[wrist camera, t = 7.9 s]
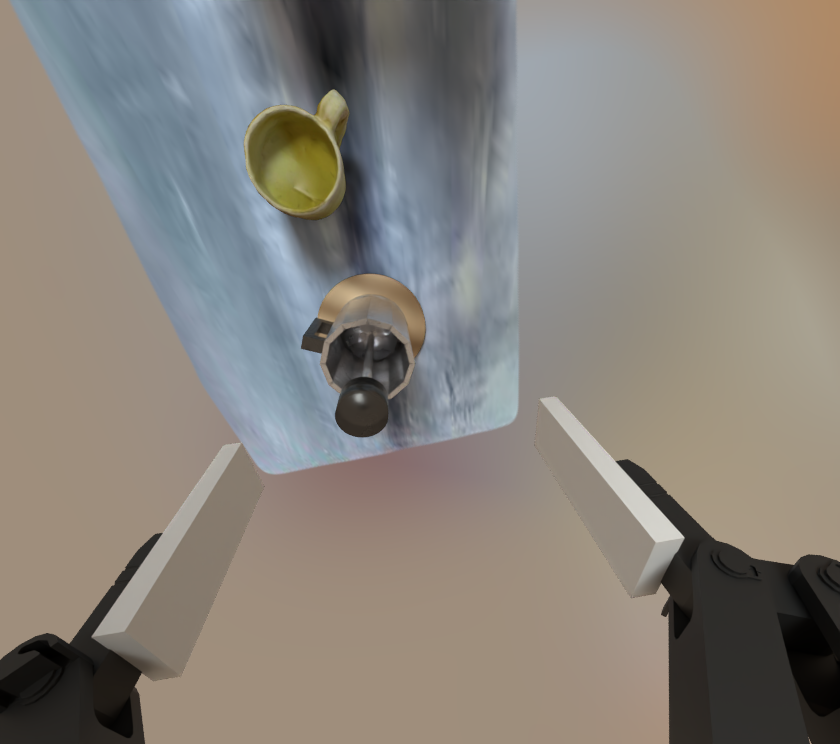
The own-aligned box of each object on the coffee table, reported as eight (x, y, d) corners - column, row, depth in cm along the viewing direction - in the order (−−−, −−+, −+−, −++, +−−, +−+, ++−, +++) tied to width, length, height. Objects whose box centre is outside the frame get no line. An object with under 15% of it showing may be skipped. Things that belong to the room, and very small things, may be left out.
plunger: (351, 304, 41) (326, 369, 23) (403, 318, 42) (415, 389, 25) (341, 351, 44) (311, 441, 26) (389, 363, 45) (391, 455, 28)
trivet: (328, 258, 41) (327, 258, 40) (439, 292, 44) (439, 293, 44) (310, 362, 47) (309, 363, 47) (407, 384, 51) (408, 386, 50)
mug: (313, 254, 39) (282, 223, 29) (258, 187, 37) (206, 130, 27) (387, 192, 38) (382, 141, 28) (334, 123, 37) (309, 43, 27)
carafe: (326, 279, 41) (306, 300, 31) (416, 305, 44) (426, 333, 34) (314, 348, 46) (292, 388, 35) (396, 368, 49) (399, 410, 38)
